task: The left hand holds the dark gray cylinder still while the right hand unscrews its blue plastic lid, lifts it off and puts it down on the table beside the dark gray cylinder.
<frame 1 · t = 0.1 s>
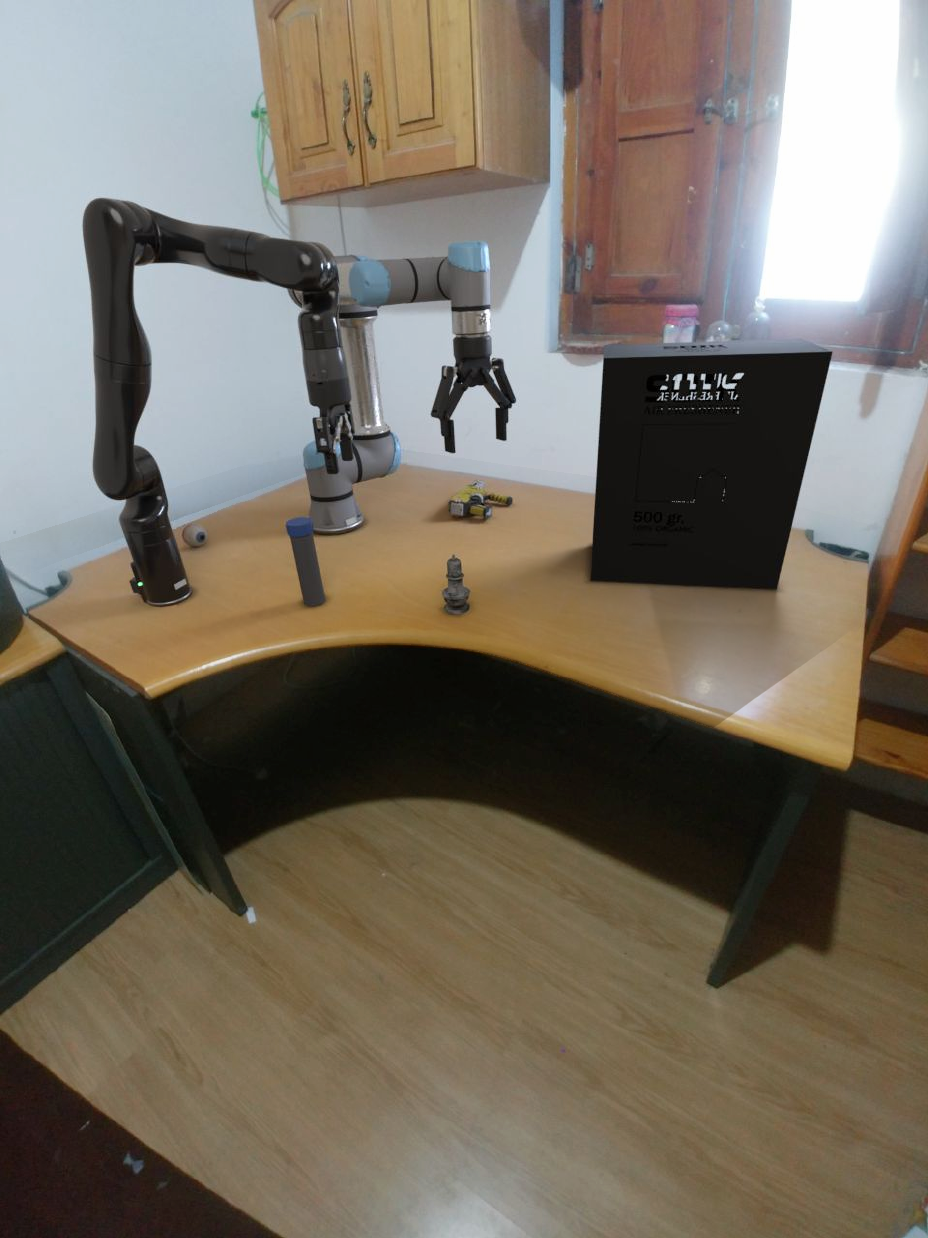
left hand: (341, 466, 114), 29 cm above the table, tool pointing down, fingers open, 8 cm apart
right hand: (476, 445, 127), 28 cm above the table, tool pointing down, fingers open, 13 cm apart
toy gun: (485, 507, 176), on the table
eyeball: (198, 546, 161), on the table
dark grey chess piece: (457, 608, 124), on the table
lid: (298, 523, 121), point 18 cm above the table, screwed on, not yet turned
cardboard box: (676, 565, 136), on the table
dark gray cylinder: (314, 601, 130), on the table
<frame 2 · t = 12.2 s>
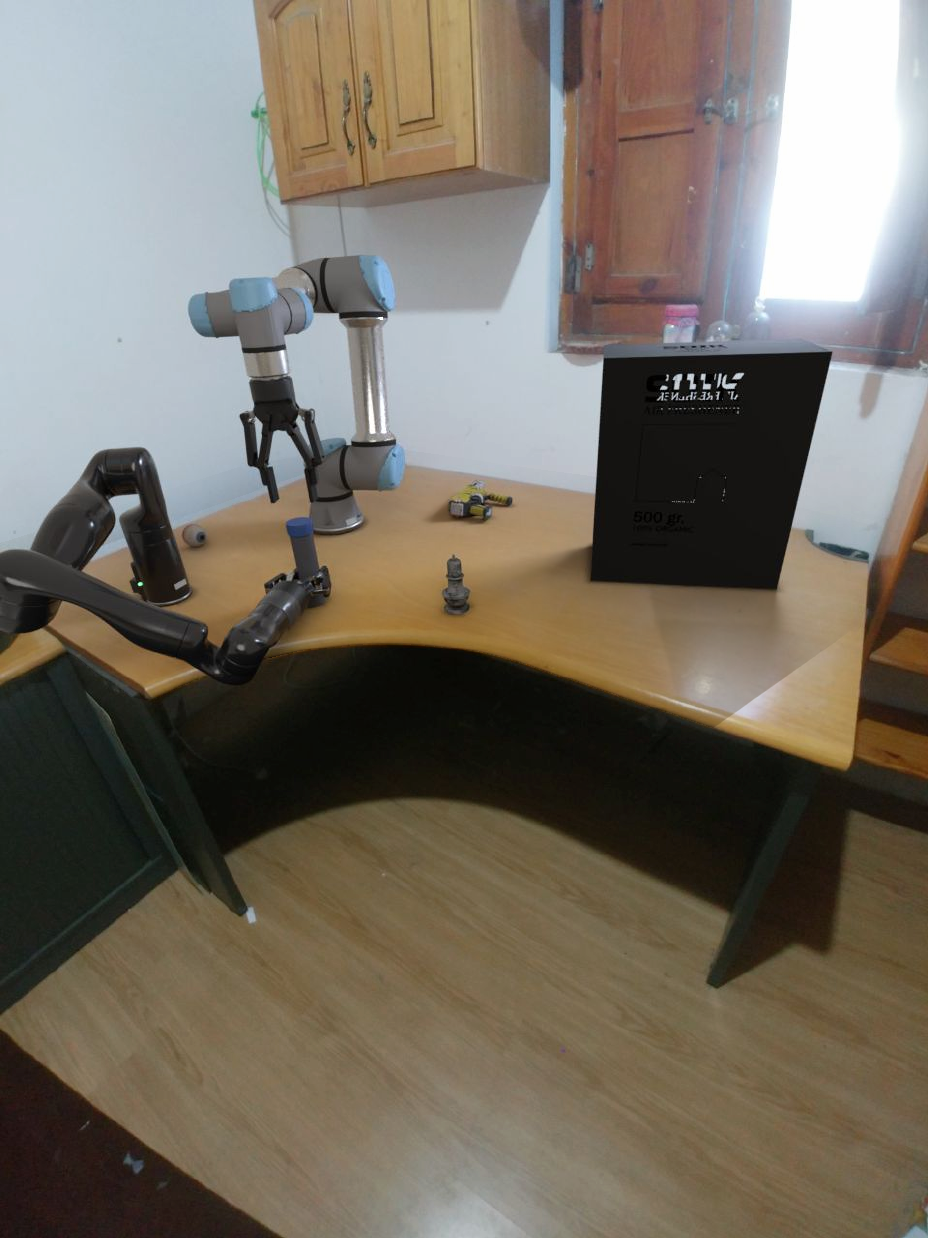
left hand: (314, 569, 129), 6 cm above the table, tool horizontal, fingers closed on dark gray cylinder, 4 cm apart
right hand: (294, 500, 119), 23 cm above the table, tool pointing down, fingers open, 7 cm apart
dark gray cylinder: (314, 601, 130), on the table, touching left hand
everything else where it was.
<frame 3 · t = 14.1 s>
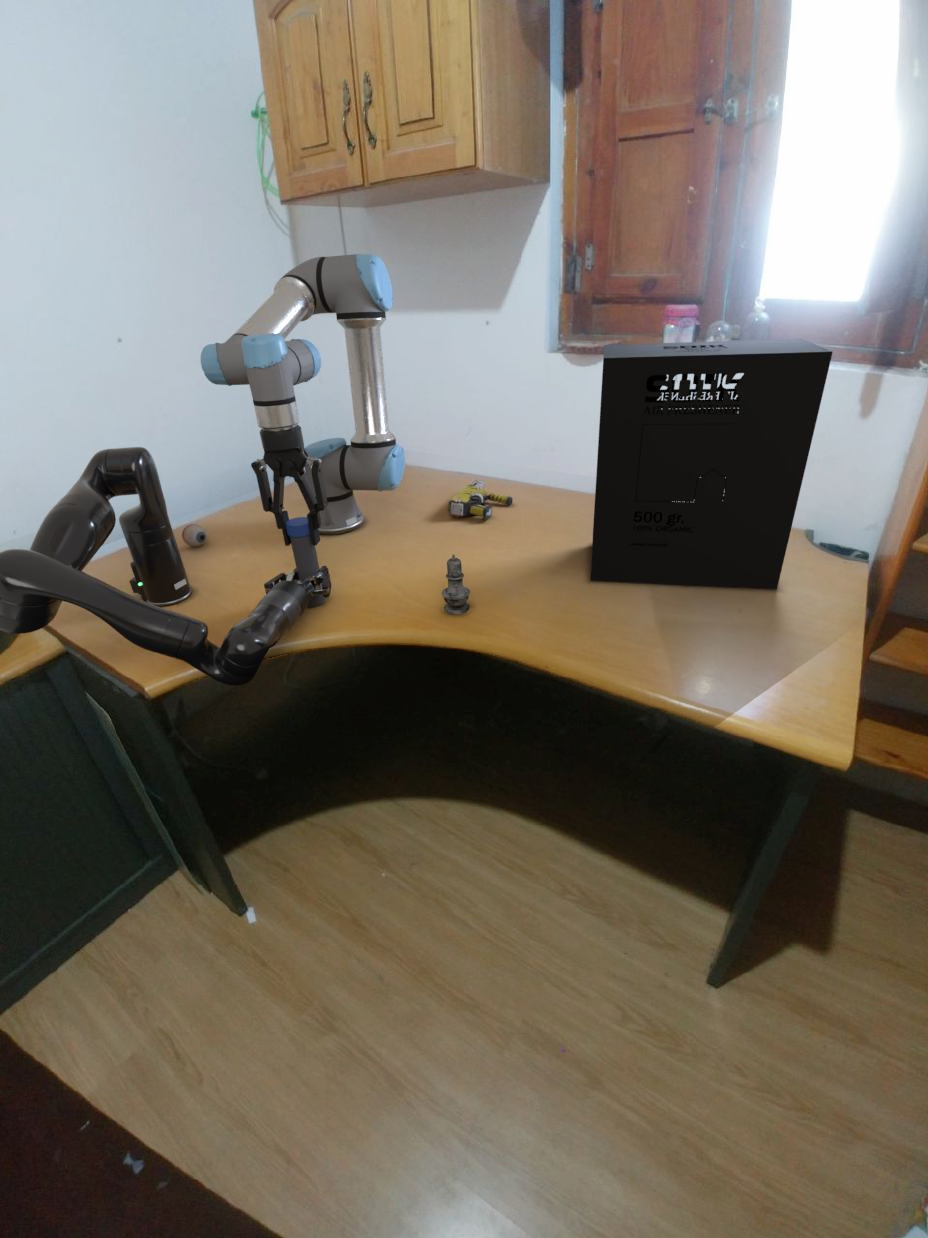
left hand: (314, 569, 129), 6 cm above the table, tool horizontal, fingers closed on dark gray cylinder, 4 cm apart
right hand: (302, 542, 123), 14 cm above the table, tool pointing down, fingers closed on lid, 5 cm apart
lid: (298, 523, 121), point 18 cm above the table, screwed on, not yet turned, touching right hand
dark gray cylinder: (314, 601, 130), on the table, touching left hand
everything else where it was.
when the right hand's fingers open (14 cm above the table, at t = 15.3 s): lid stays where it is, point 18 cm above the table.
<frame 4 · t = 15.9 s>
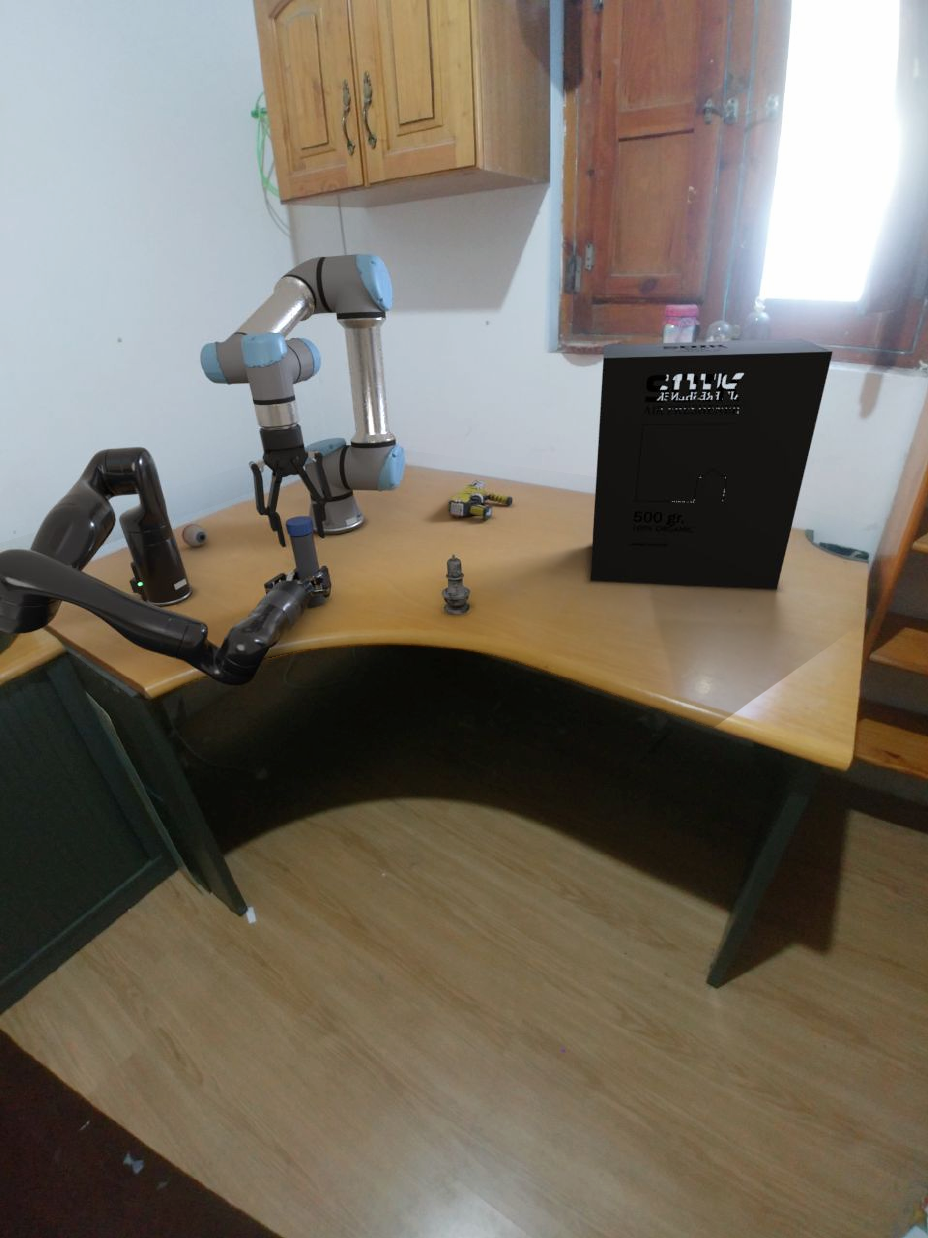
left hand: (314, 569, 129), 6 cm above the table, tool horizontal, fingers closed on dark gray cylinder, 4 cm apart
right hand: (302, 540, 123), 14 cm above the table, tool pointing down, fingers open, 7 cm apart
lid: (298, 522, 121), point 18 cm above the table, turned 89° so far, risen 0.2 cm, still on its thread
dark gray cylinder: (314, 601, 130), on the table, touching left hand
everything else where it was.
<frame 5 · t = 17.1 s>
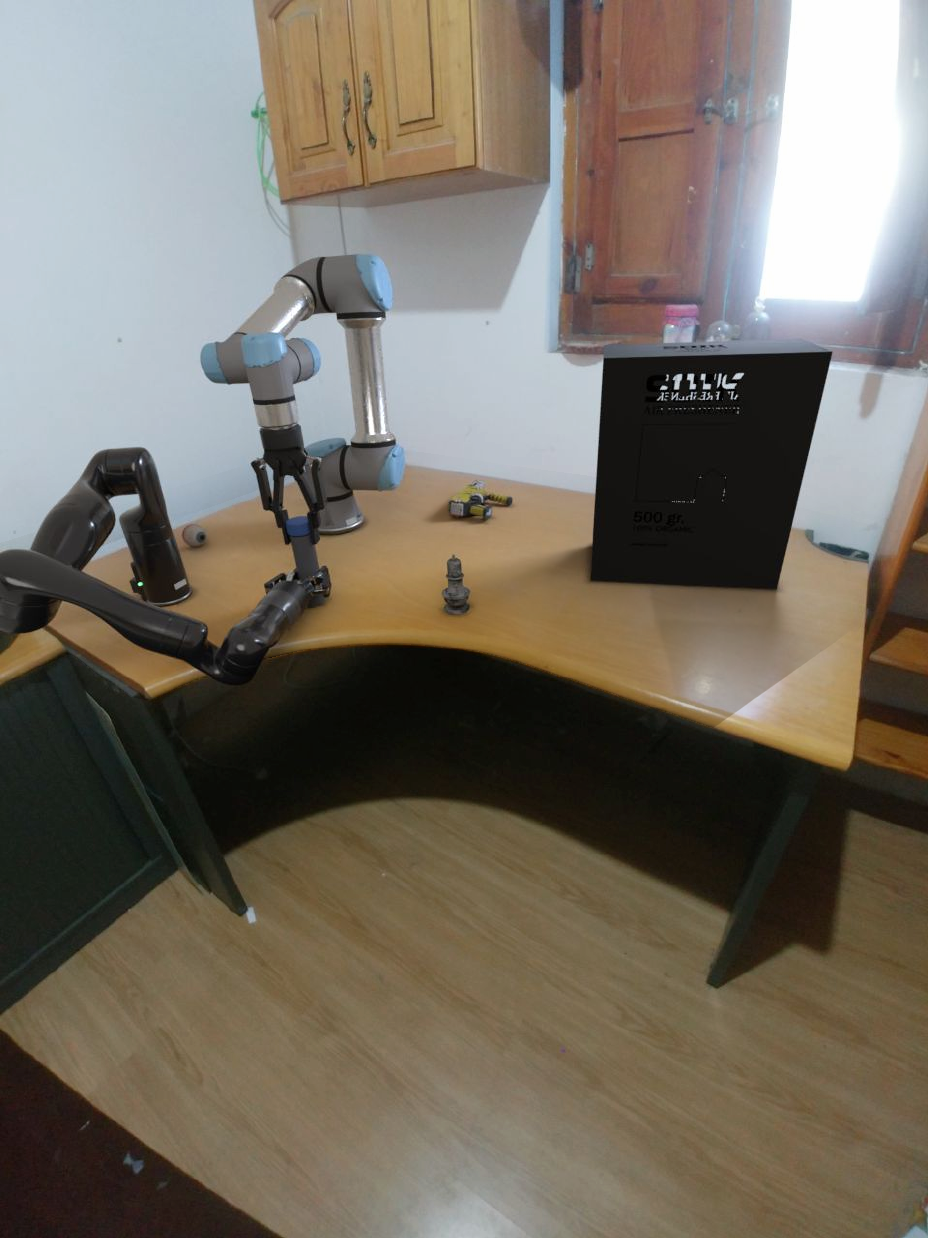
left hand: (314, 569, 129), 6 cm above the table, tool horizontal, fingers closed on dark gray cylinder, 4 cm apart
right hand: (302, 541, 123), 14 cm above the table, tool pointing down, fingers closed on lid, 5 cm apart
lid: (298, 522, 121), point 18 cm above the table, turned 89° so far, risen 0.2 cm, still on its thread, touching right hand
dark gray cylinder: (314, 601, 130), on the table, touching left hand
everything else where it was.
when the right hand's fingers open (0 cm above the table, at t = 24.3 s): lid drops 2 cm, point 2 cm above the table.
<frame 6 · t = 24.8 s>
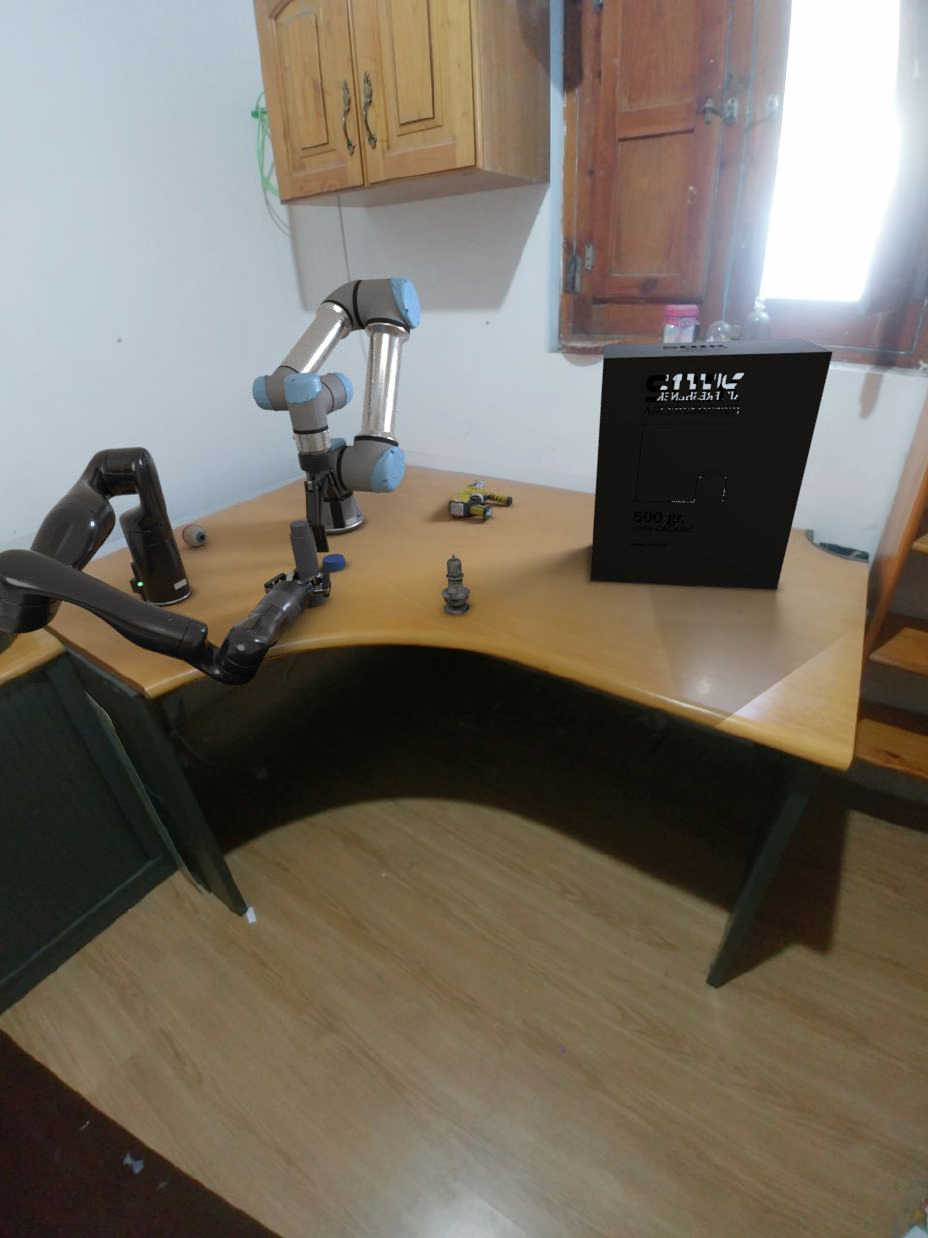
left hand: (314, 569, 129), 6 cm above the table, tool horizontal, fingers closed on dark gray cylinder, 4 cm apart
right hand: (331, 539, 142), 7 cm above the table, tool pointing down, fingers open, 13 cm apart
lid: (333, 559, 144), point 2 cm above the table, off its thread
dark gray cylinder: (314, 601, 130), on the table, touching left hand
everything else where it was.
when the left hand's fingers open (6 cm above the table, at t = 25.0 s): dark gray cylinder stays where it is, on the table.
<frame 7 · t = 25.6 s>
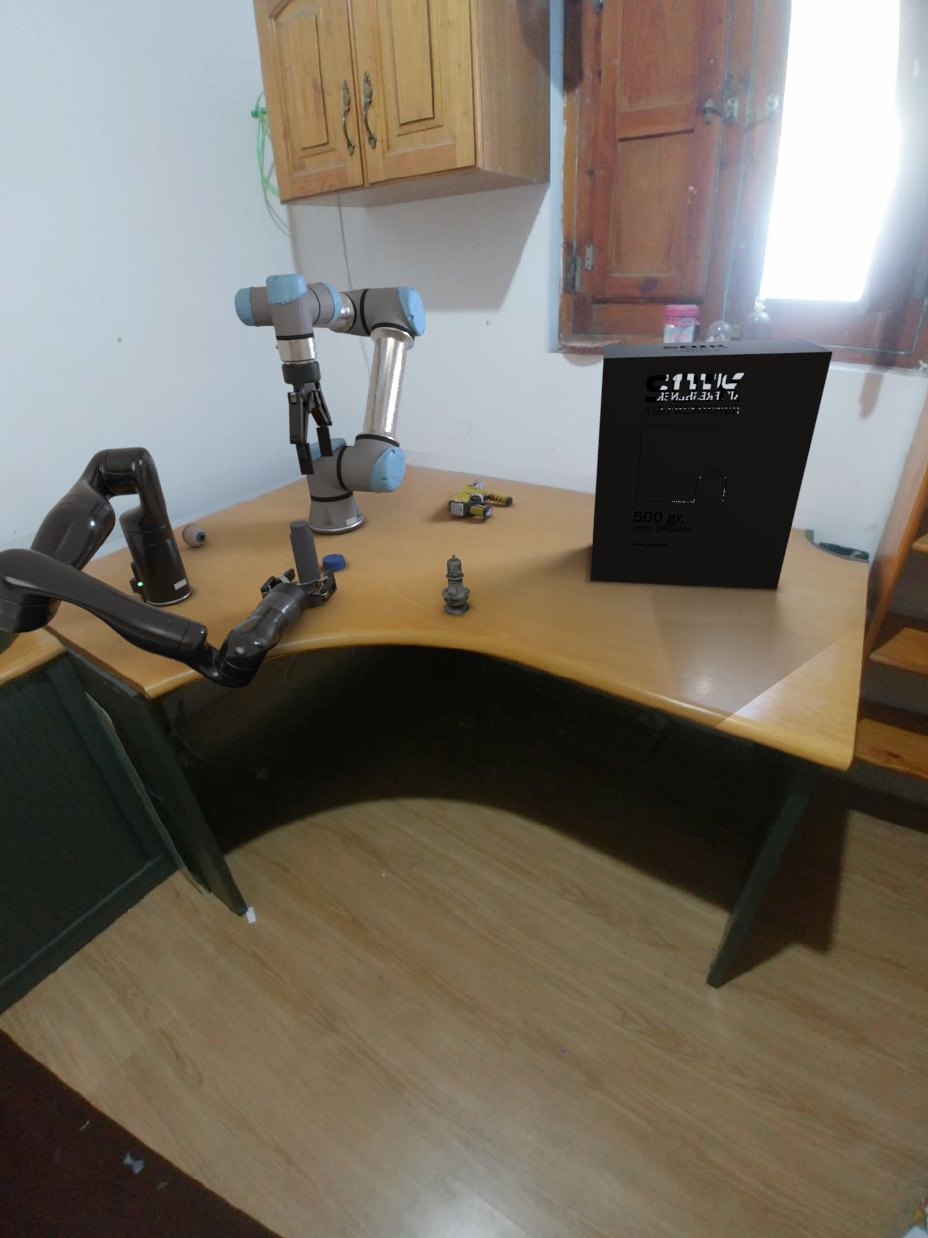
left hand: (312, 572, 128), 6 cm above the table, tool horizontal, fingers open, 8 cm apart
right hand: (318, 464, 133), 25 cm above the table, tool pointing down, fingers open, 13 cm apart
dark gray cylinder: (314, 601, 130), on the table
everything else where it was.
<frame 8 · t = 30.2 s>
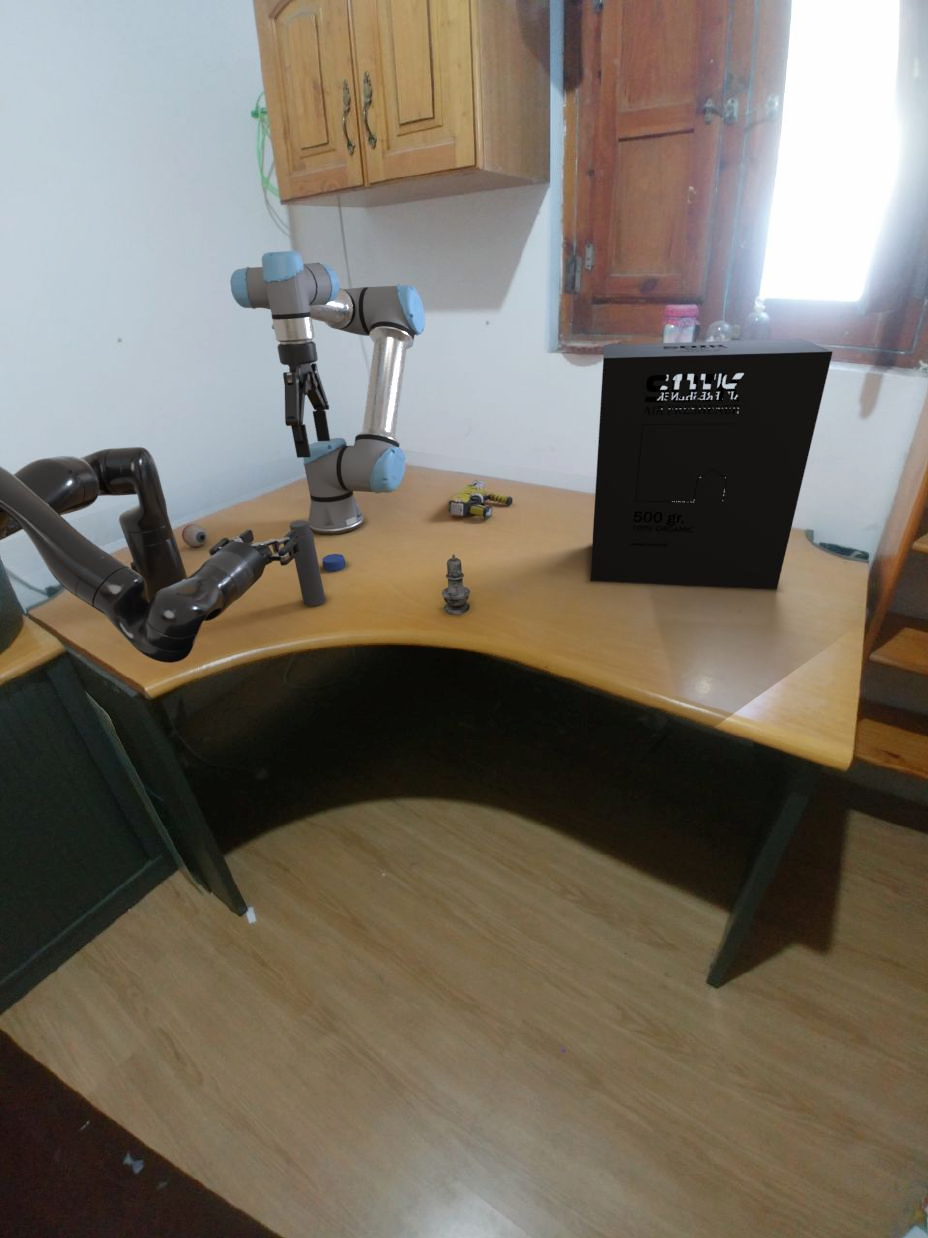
left hand: (272, 534, 110), 20 cm above the table, tool horizontal, fingers open, 8 cm apart
right hand: (314, 448, 131), 28 cm above the table, tool pointing down, fingers open, 13 cm apart
nothing on the table moved.
at the end: lid came off its thread; lid point 2.0 cm above the table; the left hand is holding nothing; the right hand is holding nothing; dark gray cylinder tilted 0°; dark gray cylinder moved 0.0 cm from its start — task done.
